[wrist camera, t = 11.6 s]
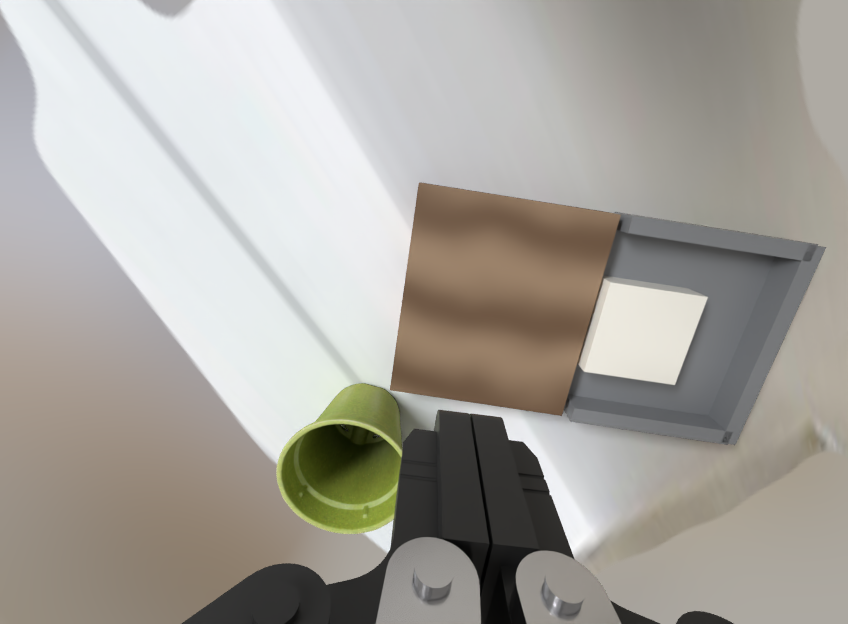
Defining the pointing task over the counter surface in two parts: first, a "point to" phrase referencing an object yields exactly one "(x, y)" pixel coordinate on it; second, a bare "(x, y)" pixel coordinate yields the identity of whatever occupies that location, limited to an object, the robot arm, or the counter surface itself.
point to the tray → (702, 327)
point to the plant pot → (345, 463)
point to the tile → (640, 330)
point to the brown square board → (498, 297)
